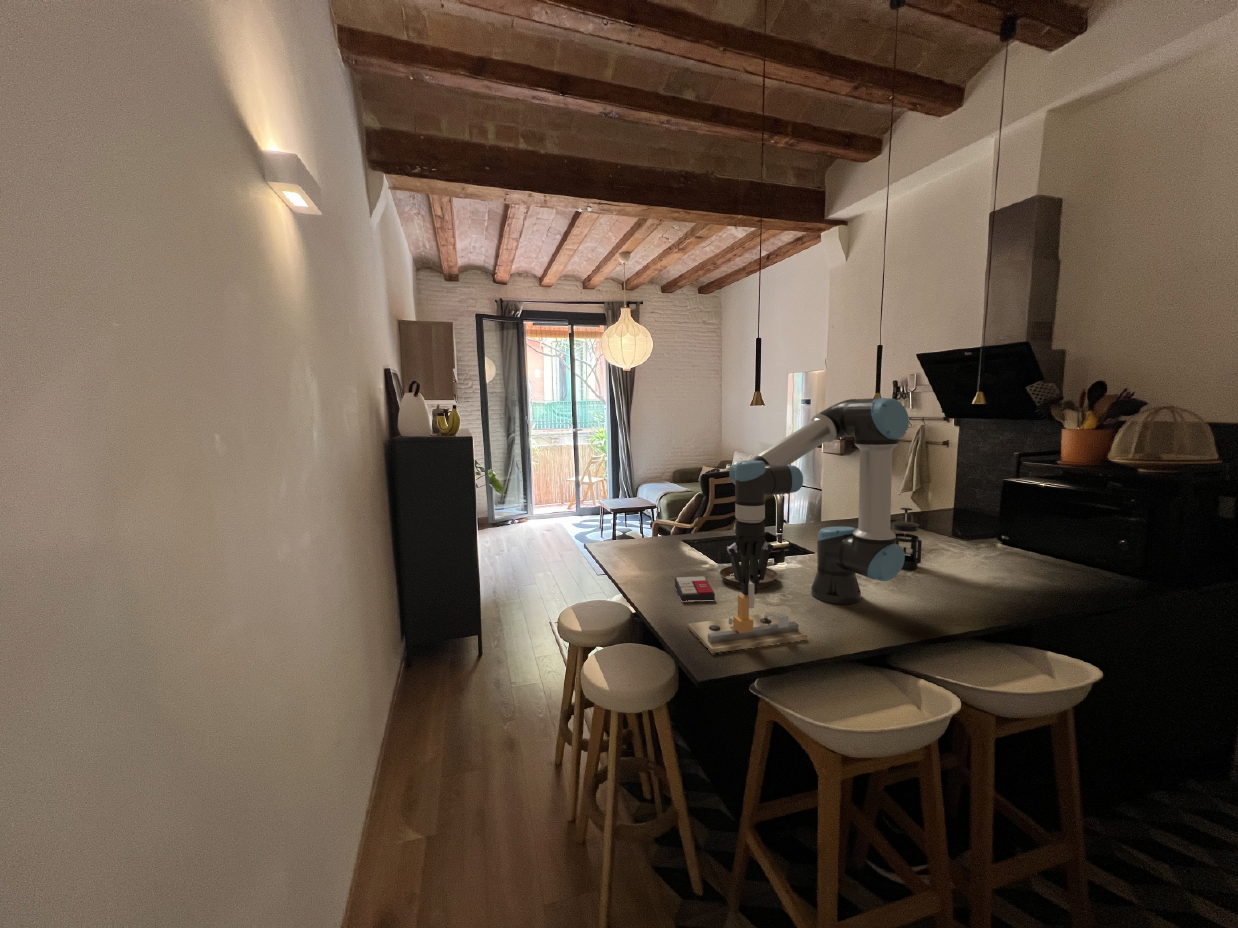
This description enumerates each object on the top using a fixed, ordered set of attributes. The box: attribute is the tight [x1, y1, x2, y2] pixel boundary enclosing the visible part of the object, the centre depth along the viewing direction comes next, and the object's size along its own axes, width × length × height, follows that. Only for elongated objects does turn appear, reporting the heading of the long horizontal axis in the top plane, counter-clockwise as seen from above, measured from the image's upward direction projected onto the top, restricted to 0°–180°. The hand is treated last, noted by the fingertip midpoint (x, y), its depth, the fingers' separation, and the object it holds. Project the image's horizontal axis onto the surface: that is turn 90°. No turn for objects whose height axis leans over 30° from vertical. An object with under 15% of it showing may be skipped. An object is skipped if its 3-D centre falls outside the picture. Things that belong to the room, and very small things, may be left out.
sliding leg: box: [728, 594, 753, 633], centre depth 137 cm, size 4×10×11 cm, turn 14°
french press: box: [892, 507, 923, 571], centre depth 193 cm, size 12×9×23 cm
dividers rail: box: [708, 611, 800, 644], centre depth 138 cm, size 26×10×5 cm, turn 104°
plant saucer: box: [719, 564, 779, 589], centre depth 183 cm, size 21×21×3 cm
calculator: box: [674, 576, 716, 601], centre depth 171 cm, size 11×4×15 cm
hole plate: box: [687, 611, 808, 653], centre depth 140 cm, size 28×16×2 cm, turn 104°
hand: (749, 606), depth 134 cm, fingers closed
